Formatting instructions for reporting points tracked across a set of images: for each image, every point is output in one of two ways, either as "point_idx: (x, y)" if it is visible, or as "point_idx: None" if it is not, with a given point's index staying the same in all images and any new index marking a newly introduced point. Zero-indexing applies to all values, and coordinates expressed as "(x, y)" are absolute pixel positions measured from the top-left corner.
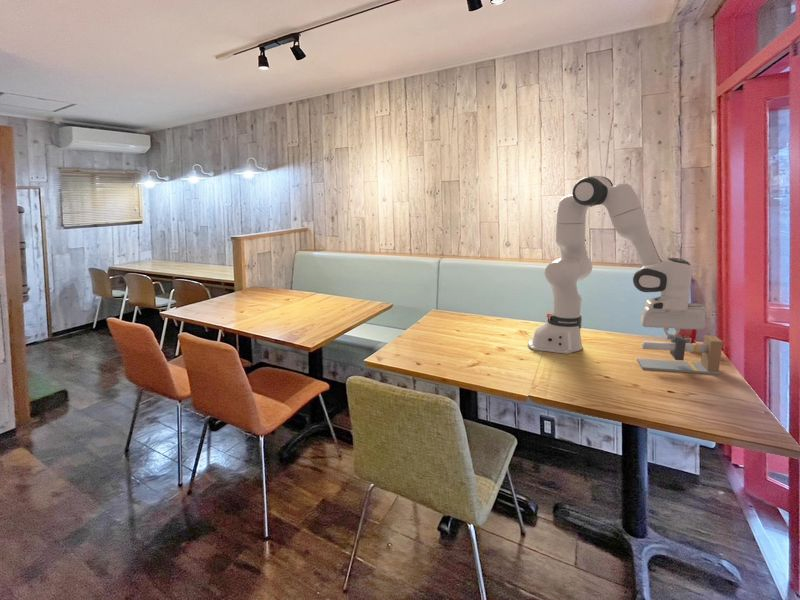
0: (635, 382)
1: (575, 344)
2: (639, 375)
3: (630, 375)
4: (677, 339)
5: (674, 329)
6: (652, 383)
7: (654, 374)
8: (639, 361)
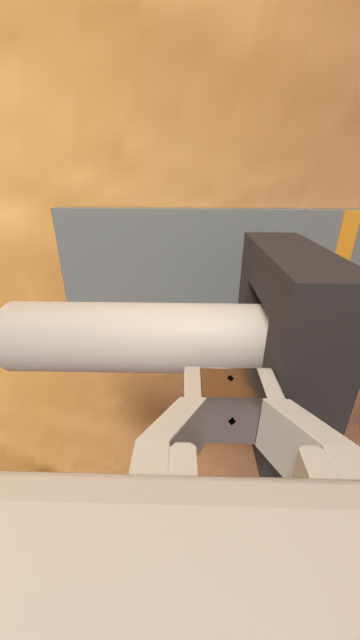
0: (46, 457)
1: None
2: (62, 401)
3: (27, 406)
4: (266, 461)
5: (294, 474)
6: (103, 456)
7: (123, 383)
8: (62, 260)
